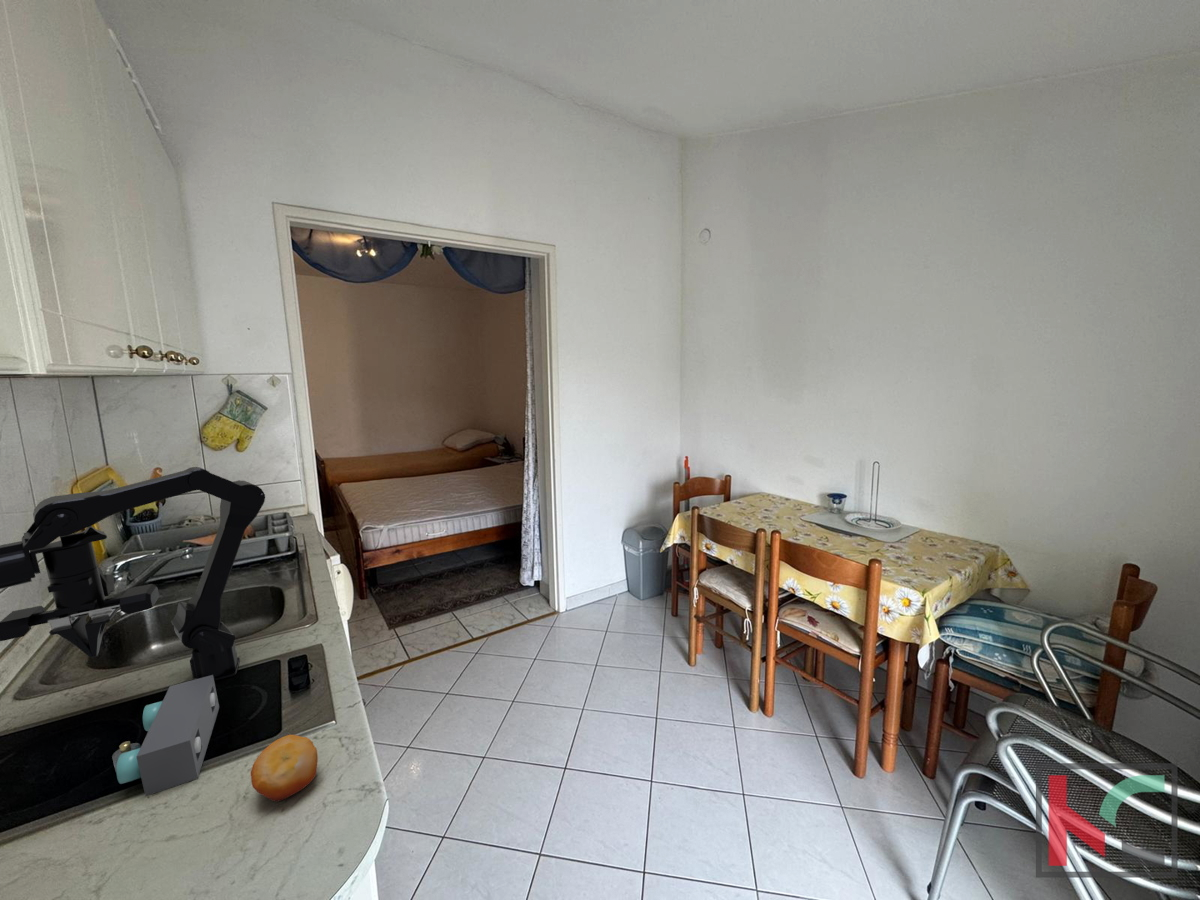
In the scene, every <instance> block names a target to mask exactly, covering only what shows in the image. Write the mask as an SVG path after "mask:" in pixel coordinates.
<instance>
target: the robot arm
mask: <svg viewBox="0 0 1200 900" xmlns="http://www.w3.org/2000/svg"><path fill="white" fill-rule="evenodd" d="M194 491H201V492H203V493H206V494H208V495H210V496H213V497H216V498H219V499H220V503H219V504H220V505H219V526H218V528H217V531H216V535H215V537H214V540H213V542H212V546H211V548H210V551H209V553H208V556H207V559H206V562H205V565H204V568H203V570H202V574H201V575H200V579H199V580H198V581H199V582H198V584H197V587H196V590H195V593H193V595H192V597H190V599H189V600H188V601H187V602H185V601H178V604H177V610H176V613H175V615H174V617H173V619H172V620H170V623H171V624H172V626H173V631H174V632H175V635H176V636H177V638H178V639H179V641H180V642H181V643H182V645H183V646H184V647H186V648H188V649H190V650H191V649H192V651H191V656H190V659H189V664H190V665H189V666H190V670H191V674H192V675H191V676H192V679H193V680H195V679H199V678H203V677H206V676H210V675H213V677H214V682H215V681H219V680H222V679H226V678H229V677H230V678H231V677H234V676H236V674H237V672H238V667H239V666H240V665H239V663H240V660H241V658H240V657H238V654H237V650H236V645H235V644H236V643H235V638H236V636H235V634H233V632H232V631H231V630H230V629H229V628H228V626H227V625H226V624H225V623H224V622H223V621H221V620H222V597H223V595H224V592H225V589H226V586H227V585H228V580H229V578H230V574H231V572H232V569H233V565H234V563H235V560H236V559H237V558H236V557H237V554H238V551H239V549H240V546H241V544H242V540H243V538H244V534H245V531H246V529H247V528H248V527H249V526H250V525H251V524H252V522H253V521H254V520H255V519H256V518H257V516H258V514H259V513H260V511H261V509H262V507H263V506H264V503H265V501H266V494H265V492H264V491H263V489H262V488H261V487H259V486H258V485H255V484H253V483H251V482H249V481H246V480H234V481H232V480H229V479H227V478H225V477H221V476H219V475H216V474H215V473H212V472H210V471H209V470H206V469H205V468H203V467H198V466H192V467H188V468H187V469H185V470H182V471H178V472H177V471H176V472H173V473H169V474H165V475H161V476H158V477H154V478H150V479H146V480H142V481H139V482H135V483H131V484H127V485H124V486H119V487H116V488H112V489H107V490H99V491H88V492H78V493H77V492H76V493H69V494H61V495H55V496H50V497H47V498H45V499H43V500H41V501H40V502H38V504H37V505H36V506H35V508H34V509H33V512H32V517H33V523H32V524H31V525H30V527H29V528H28V529H26V531H25V532H23V535H22V537H21V541H15V542H12V543H11V542H10V543H6V544H0V590H3V589H8V588H11V587H12V588H13V587H15V586H19V585H24V584H27V583H32V582H33V580H32V579H35V578H36V575H39V574H41V569H40V565H39V561H38V557H37V554H42V557H43V561H44V565H45V569H46V572H47V577H48V580H49V581H48V582H49V585H48V586H46V587H47V591H48V593H52V596H53V600H54V605H55V608H54V609H51V610H46V608H45V607H44V605H38V606H33V607H27V608H23V609H22V608H21V609H17V610H13V611H11V612H10V613H9V614H8V615H6V616H5V617H3V619H1V620H0V642H5V641H8V640H13V639H17V638H22V637H25V636H26V635H27V634H28V633H29V632H30V630H32V627H34V626H40V625H43V624H48V623H49V626H50V630H49V632H48V633H49V635H50V636H55V635H58V636H60V637H61V638H63V639H65V640H66V641H68V642H69V643H71V644H73V645H74V646H75V647H77V649H79V650H81V652H83V653H84V654H85V655H86V656H87V657H88V658H91V659H92V658H95V657H97V656H98V655H99V652H100V650H101V649H100V648H101V645H102V644H101V643H102V639H103V636H104V635H103V634H104V630H105V628H106V625H107V624H108V623H110V622H111V621H112V620H113V618H114V616H116V614H117V613H118V611H119V609H120V611H121V612H122V613H124V614H128V615H129V614H135V613H138V612H139V613H140V612H144V611H147V610H150V609H152V608H153V607H154V606H155V604H156V603H157V601H158V600H159V598H160V591H159V588H158V586H156V585H155V584H153V583H149V584H144V585H138V586H135V587H129V588H127V589H126V590H125V591H124V592H123V594H122V595H120V596H116V597H110V598H106V597H109V596H110V595H111V594H112V593H113V592H115V581H114V580H115V579H114V574H103V571H102V569H101V567H99V566H98V563H97V558H96V555H95V550H94V545H93V543H94V542H98V541H103V540H104V541H105V540H106V539H107V538H108V536H107V534H106V532H105V531H102V530H100V529H97V528H95V527H94V526H93V525H96V524H97V523H99V522H102V521H103V520H106V519H107V518H109V517H111V516H114V515H115V514H117V513H121V512H125V511H128V510H132V509H134V508H138V507H141V506H146V505H150V504H153V503H156V502H159V501H162V500H166V499H169V498H172V497H173V498H174V497H177V496H180V495H184V494H188V493H191V492H194ZM82 530H83V531H82ZM80 531H81V532H80ZM58 538H59V539H60V540H58V541H55V540H57V539H58ZM53 541H54V542H53ZM87 615H88V617H89V620H87Z"/></svg>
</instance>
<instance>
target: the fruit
mask: <svg viewBox="0 0 1200 900" xmlns="http://www.w3.org/2000/svg"><path fill="white" fill-rule="evenodd" d="M318 759H319V757H318V749H317V747H315V745H314V743H313V741H312V740H311V739H310V738H308V737H306V736H301V735H298V734H297V735H296V734H287V735H285V736H282V737H280V738H278V739H276V740H274V741H273V742H272V743H270V744H269V745H268V746H267V747H265V748H264V749H263V750H262V751H261V752H260V753H259V755H258V756H257V758H256V759H255V761H254V762H253V764H252V767H251V769H250V778H251V779H250V780H251V781H250V782H251V786H252V788H253V789H254V790H255V791H256V792H257V793H258V794H260V795H262V796H263V797H265V798H266V799H268V800H271V801H272V802H281V801H283V800H286V799H288V798H289V797H291V796H292V795H294V794H297V793H298V792H300V791H302V790H303V789H305V787H306V786H308V785H309V784H310V783H311V782H312V781H313V780H314V778H315V777H316V774H317V770H318Z"/></svg>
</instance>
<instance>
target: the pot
mask: <svg viewBox="0 0 1200 900" xmlns="http://www.w3.org/2000/svg"><path fill="white" fill-rule="evenodd" d="M141 746H142V745H141V744H140V743H139V742H135V743H134V742H133V743H131V741H130V740H128V741H127V740H126V741H123V742H122V743H120V745H119V746H118V747H119V748H118V749H117V750H115V752H113V754H112V756H111V757H112V758H111V759H112V761H113V762H112V763H113V766H114V770H115V771H114V772H115V773H117V762H118V758H119V756H120V755H121V754H122V753H125V752H128V751H132V750H135V749H138V748H141Z"/></svg>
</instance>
